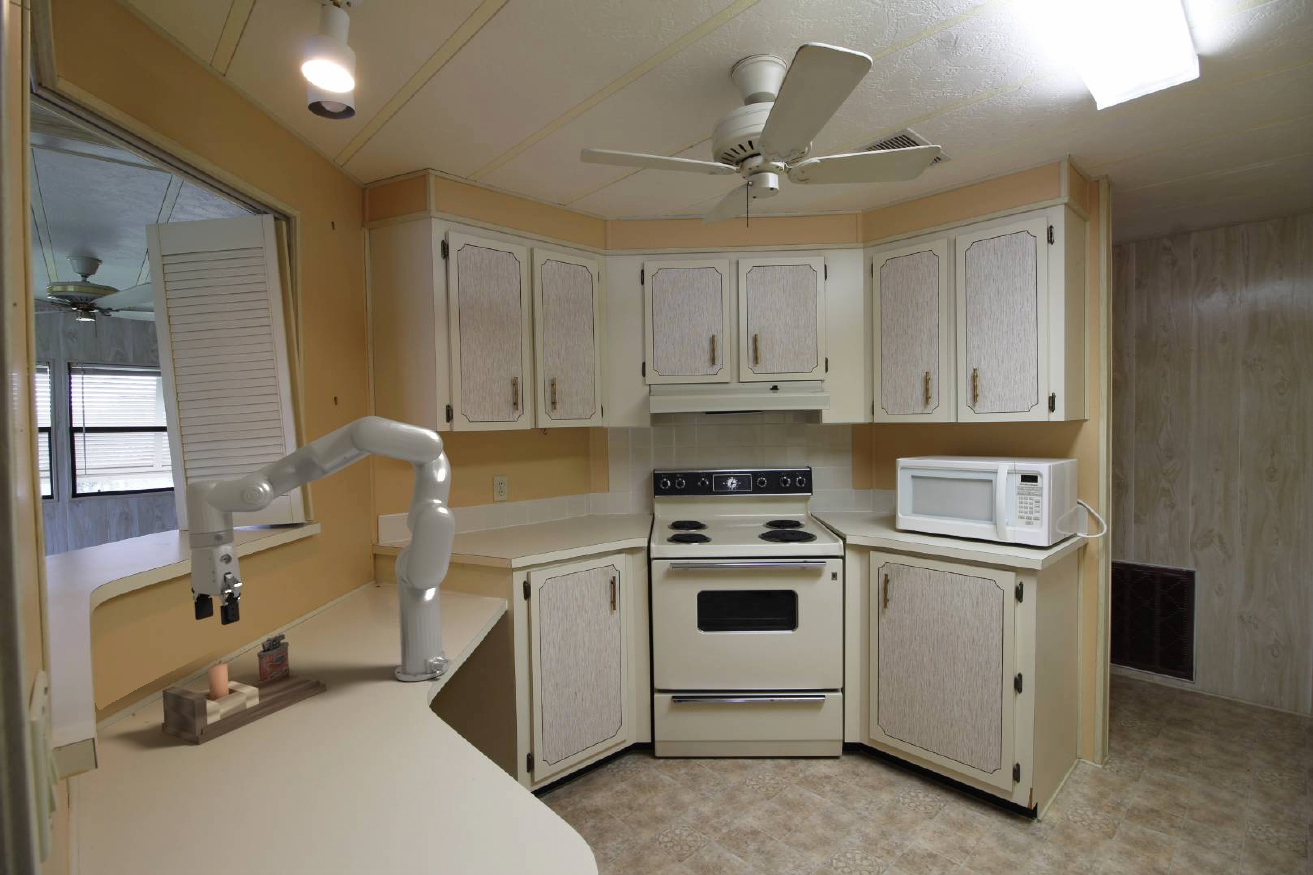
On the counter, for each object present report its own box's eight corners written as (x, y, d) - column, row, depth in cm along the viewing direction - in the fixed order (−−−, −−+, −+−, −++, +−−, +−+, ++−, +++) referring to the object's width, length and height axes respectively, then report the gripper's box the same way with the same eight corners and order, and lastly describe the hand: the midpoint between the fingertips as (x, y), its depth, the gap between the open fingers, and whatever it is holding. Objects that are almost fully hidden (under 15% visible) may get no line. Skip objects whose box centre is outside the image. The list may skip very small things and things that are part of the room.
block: (259, 706, 128) (258, 688, 128) (206, 728, 119) (205, 708, 119) (232, 698, 132) (231, 680, 132) (179, 719, 123) (178, 699, 123)
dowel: (216, 718, 124) (213, 670, 123) (207, 715, 125) (205, 668, 125) (233, 711, 126) (230, 664, 126) (224, 708, 128) (221, 662, 128)
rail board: (326, 689, 139) (324, 653, 139) (199, 744, 116) (197, 701, 116) (289, 680, 146) (287, 645, 145) (162, 730, 122) (160, 689, 122)
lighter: (266, 685, 143) (264, 643, 143) (254, 684, 144) (252, 643, 144) (293, 671, 151) (291, 632, 151) (282, 670, 152) (280, 631, 151)
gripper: (254, 537, 124) (260, 619, 125) (209, 534, 132) (214, 610, 133) (214, 545, 118) (220, 631, 118) (169, 541, 126) (174, 621, 126)
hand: (217, 620), depth 125 cm, fingers open, 9 cm apart
